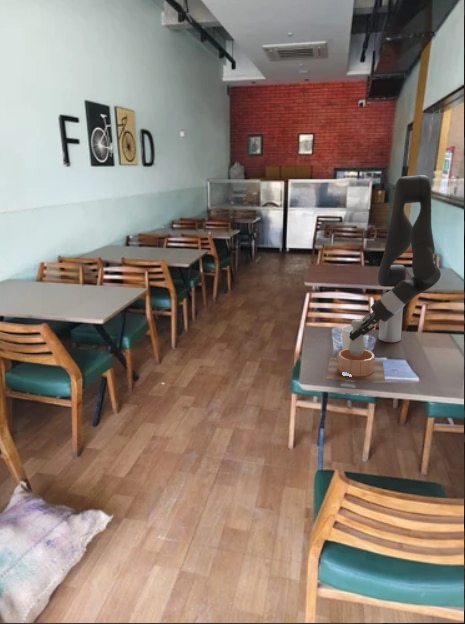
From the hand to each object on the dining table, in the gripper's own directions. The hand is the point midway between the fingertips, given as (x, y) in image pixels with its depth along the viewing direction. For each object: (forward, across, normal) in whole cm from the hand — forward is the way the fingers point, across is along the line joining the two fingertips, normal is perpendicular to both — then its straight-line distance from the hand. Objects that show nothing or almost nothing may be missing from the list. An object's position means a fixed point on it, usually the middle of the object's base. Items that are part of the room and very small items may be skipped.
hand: (351, 337), depth 156 cm
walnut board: (+8, 0, +11) cm, 14 cm away
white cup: (+10, -20, +10) cm, 24 cm away
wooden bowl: (+8, 0, +10) cm, 13 cm away
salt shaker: (+3, 0, +6) cm, 7 cm away
